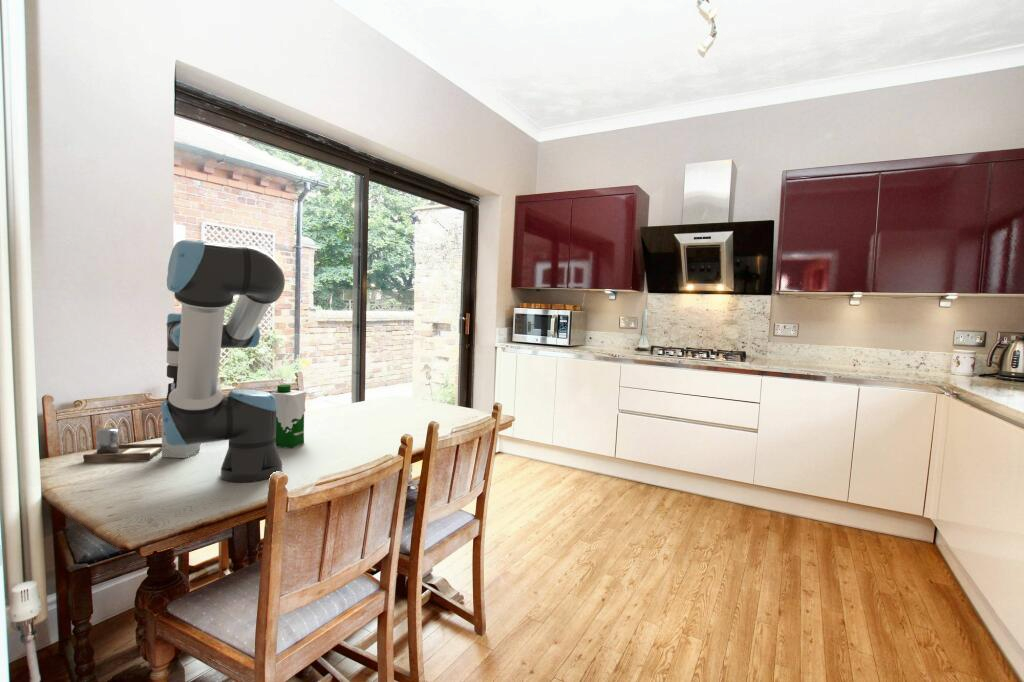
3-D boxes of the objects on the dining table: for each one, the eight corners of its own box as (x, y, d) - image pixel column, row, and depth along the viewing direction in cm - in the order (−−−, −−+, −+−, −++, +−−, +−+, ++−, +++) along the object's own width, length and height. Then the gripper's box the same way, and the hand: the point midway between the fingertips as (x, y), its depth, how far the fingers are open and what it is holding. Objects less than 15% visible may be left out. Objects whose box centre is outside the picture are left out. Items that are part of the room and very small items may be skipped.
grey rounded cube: (113, 455, 141) (113, 431, 141) (92, 455, 140) (92, 431, 139) (122, 450, 146) (121, 427, 146) (102, 450, 145) (102, 427, 144)
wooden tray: (164, 450, 152) (164, 443, 151) (149, 460, 141) (149, 453, 141) (103, 451, 147) (103, 444, 147) (83, 462, 137) (83, 455, 137)
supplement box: (160, 457, 144) (160, 416, 144) (177, 450, 152) (177, 411, 151) (185, 459, 145) (185, 417, 144) (201, 451, 152) (201, 412, 151)
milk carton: (284, 440, 169) (285, 383, 168) (308, 442, 167) (309, 385, 166) (268, 446, 160) (269, 387, 159) (293, 449, 159) (294, 389, 158)
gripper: (180, 370, 135) (179, 444, 137) (209, 359, 159) (208, 422, 161) (149, 370, 133) (148, 445, 135) (183, 358, 157) (182, 422, 159)
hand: (181, 432), depth 148 cm, fingers open, 13 cm apart
